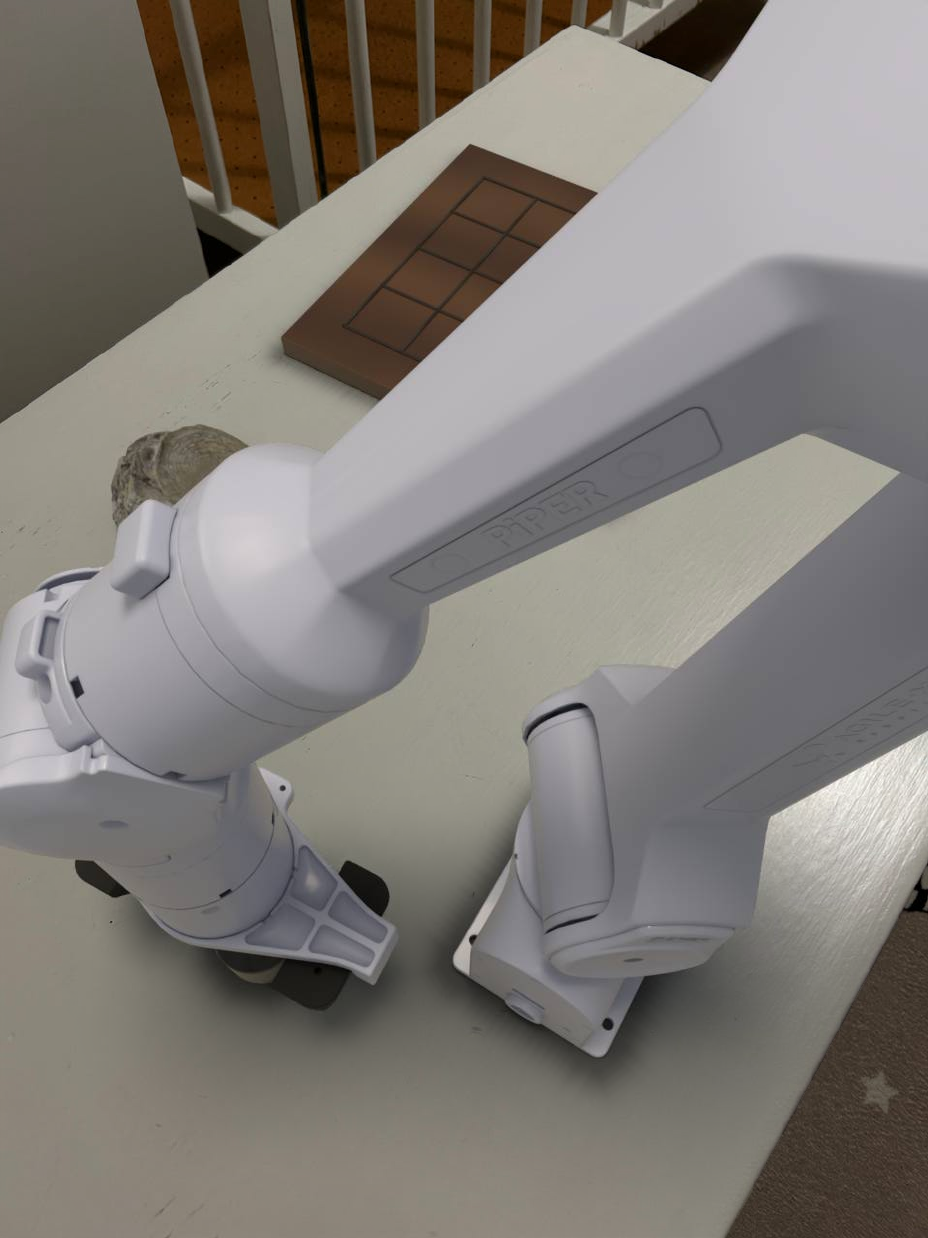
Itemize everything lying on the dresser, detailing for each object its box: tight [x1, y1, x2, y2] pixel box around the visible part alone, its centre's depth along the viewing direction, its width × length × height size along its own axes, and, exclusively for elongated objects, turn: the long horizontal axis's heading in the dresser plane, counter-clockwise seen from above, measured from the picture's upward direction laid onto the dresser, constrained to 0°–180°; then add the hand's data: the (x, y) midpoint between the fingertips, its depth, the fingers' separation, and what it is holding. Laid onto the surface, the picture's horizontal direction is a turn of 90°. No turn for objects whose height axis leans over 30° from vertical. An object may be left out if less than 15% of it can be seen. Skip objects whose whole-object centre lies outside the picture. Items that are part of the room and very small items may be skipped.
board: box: [280, 143, 599, 401], centre depth 66 cm, size 24×24×2 cm
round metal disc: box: [214, 949, 286, 985], centre depth 45 cm, size 4×4×3 cm
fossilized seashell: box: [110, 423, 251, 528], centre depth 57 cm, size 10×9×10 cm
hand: (260, 917), depth 45 cm, fingers open, 7 cm apart
